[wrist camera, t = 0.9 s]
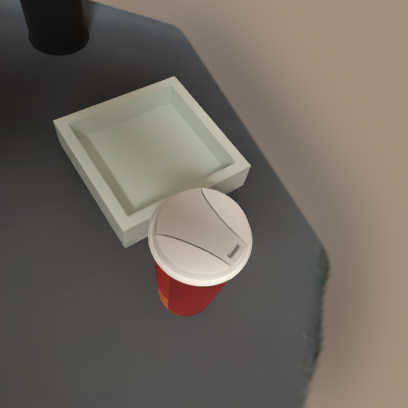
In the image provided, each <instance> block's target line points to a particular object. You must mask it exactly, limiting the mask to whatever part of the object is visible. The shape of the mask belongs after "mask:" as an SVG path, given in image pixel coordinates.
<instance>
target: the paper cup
mask: <svg viewBox="0 0 408 408" xmlns="http://www.w3.org/2000/svg"><path fill="white" fill-rule="evenodd" d="M148 241H149V247H150V250H151V253H152V255H153V257H154V259H155V269H156V279H157V287H158V293H159V297H160V299H161V301H162V303H163V305H164V306H165V307H166V308H167V309H168V310H169V311H171V312H172V313H174V314H177V315H180V316H191V315H195V314H197V313H199V312H201V311H202V310H204V309H205V308H206V307H207V306H208V305H209V304H210V302H211V301H212V300H213V299H214V298H215V296H216V295H217V294H218V292H219V291H220V290H221V289H222V287H223V286H224V285H225V283H226V282H227V281H228V280H229V279H231V278H233V277H234V276H235V275H236V274H238V273H239V272H240V271H241V269H242V268H243V267H244V266H245V264H246V262H247V261H248V258H249V256H250V253H251V248H252V234H251V229H250V226H249V224H248V220H247V218H246V216H245V214H244V212H243V211H242V209H241V208H240V206H239V205H238V204H237V203H236V202H235V201H234V200H232V199H231V198H230V197H228V196H227V195H225V194H223V193H221V192H219V191H216V190H212V189H207V188H197V189H191V190H186V191H183V192H180V193H177V194H174V195H172V196H170V197H168V198H167V199H165V200H164V201H163V202H161V203H160V204H159V205H158V206H157V208H156V209H155V210H154V212H153V213H152V215H151V219H150V225H149V230H148Z"/></svg>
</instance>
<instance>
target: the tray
mask: <svg viewBox="0 0 408 408" xmlns="http://www.w3.org/2000/svg"><path fill="white" fill-rule="evenodd" d="M53 122H54V126H55V129H56V132H57V136H58V139H59V142H60V144H61V146H62V148H63V149H64V151H65V153H66V154H67V156H68V157H69V159H70V161H71V162H72V164H73V165H74V167H75V169H76V170H77V172H78V173H79V175H80V177H81V178H82V180H83V181H84V183H85V185H86V186H87V188H88V190H89V191H90V193H91V194H92V196H93V198H94V199H95V201H96V202H97V204H98V206H99V207H100V209H101V210H102V212H103V214H104V215H105V217H106V218H107V220H108V222H109V223H110V225H111V227H112V228H113V230H114V231H115V233H116V235H117V236H118V238H119V239H120V241H121V243H122V244H123V246H124V247H125V248H127V247H129V246H131V245H133V244H134V243H136V242H138V241H140V240H142V239H144V238H146V237H147V236H148V230H149V225H150V219H151V215H152V213H153V212H154V210H155V209H156V208H157V206H158V205H159V204H160V203H161V202H163V201H164V200H165V199H167V198H168V197H170V196H172V195H174V194H177V193H180V192H183V191H186V190H191V189H197V188H207V189H212V190H216V191H219V192H221V193H223V194H225V195H226V194H228V193H229V192H231V191H233V190H235V189H237V188H239V187H241V186H242V185H243V184H244V182H245V179H246V177H247V174H248V172H249V169H250V167H251V165H250V164H249V163H248V162H247V161H246V160H245V158H244V157H243V156H242V155H241V154H240V153H239V151H238V150H237V149H236V148H235V147H234V145H233V144H232V143H231V142H230V141H229V140H228V138H227V137H226V136H225V135H224V134H223V133H222V131H221V130H220V129H219V128H218V127H217V126H216V124H215V123H214V122H213V121H212V120H211V118H210V117H209V116H208V115H207V114H206V113H205V111H204V110H203V109H202V108H201V107H200V106H199V104H198V103H197V102H196V101H195V100H194V98H193V97H192V96H191V95H190V94H189V93H188V91H187V90H186V89H185V88H184V87H183V86H182V84H181V83H180V82H179V81H178V80H177V79H176V77H175V76H174V77H171V78H168V79H165V80H163V81H160V82H157V83H155V84H152V85H149V86H146V87H144V88H141V89H138V90H135V91H133V92H130V93H127V94H124V95H122V96H119V97H116V98H113V99H111V100H108V101H105V102H103V103H100V104H97V105H94V106H92V107H89V108H86V109H83V110H81V111H78V112H75V113H72V114H70V115H67V116H64V117H62V118H59V119H56V120H53Z"/></svg>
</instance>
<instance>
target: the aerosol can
mask: <svg viewBox="0 0 408 408" xmlns="http://www.w3.org/2000/svg"><path fill="white" fill-rule="evenodd" d="M20 3H21V6H22V10H23V13H24V16H25V20H26V23H27V26H28V30H29V40H30V42H31V44H32V45H33V46H34V47H35V48H36V49H38V50H39V51H41V52H44V53H47V54H51V55H67V54H71V53H74V52H76V51H78V50H80V49H81V48H83V47H84V46H85V45H86V43H87V42H88V38H89V34H88V31H87V29H86V26H85V20H84V13H83V7H82V0H20Z"/></svg>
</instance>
